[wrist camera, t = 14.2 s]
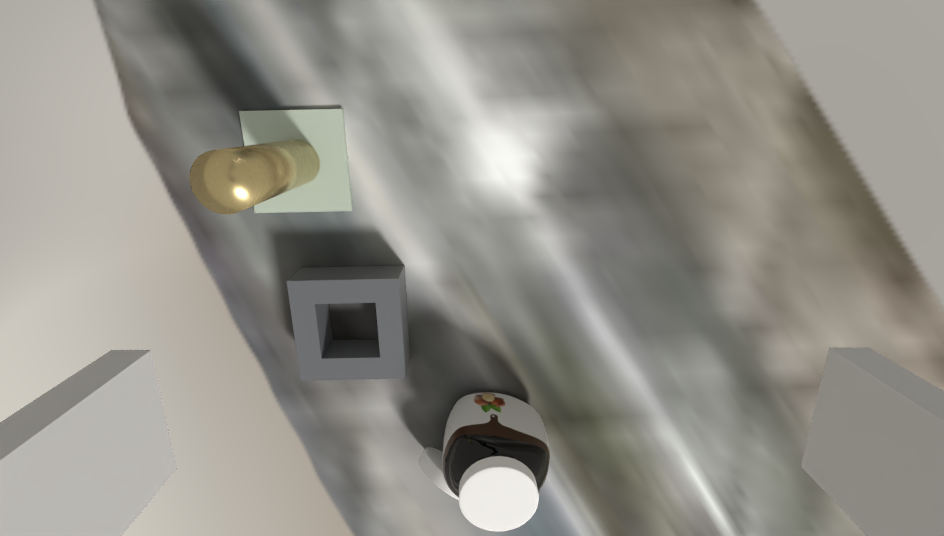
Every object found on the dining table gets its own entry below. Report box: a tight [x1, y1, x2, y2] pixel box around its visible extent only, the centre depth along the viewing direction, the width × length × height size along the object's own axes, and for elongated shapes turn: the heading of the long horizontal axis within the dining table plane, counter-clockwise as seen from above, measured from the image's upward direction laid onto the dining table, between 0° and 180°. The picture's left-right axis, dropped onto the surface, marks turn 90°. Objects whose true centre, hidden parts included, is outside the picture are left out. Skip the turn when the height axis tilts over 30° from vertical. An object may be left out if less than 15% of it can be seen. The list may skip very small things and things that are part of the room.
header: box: [286, 265, 411, 380], centre depth 47 cm, size 10×10×4 cm
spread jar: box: [418, 390, 550, 531], centre depth 47 cm, size 12×11×12 cm
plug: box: [190, 139, 320, 214], centre depth 37 cm, size 4×4×14 cm
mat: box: [239, 109, 353, 213], centre depth 44 cm, size 9×9×1 cm
